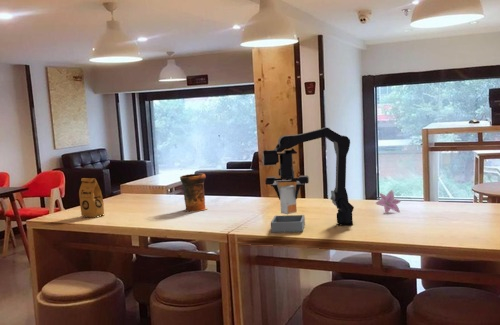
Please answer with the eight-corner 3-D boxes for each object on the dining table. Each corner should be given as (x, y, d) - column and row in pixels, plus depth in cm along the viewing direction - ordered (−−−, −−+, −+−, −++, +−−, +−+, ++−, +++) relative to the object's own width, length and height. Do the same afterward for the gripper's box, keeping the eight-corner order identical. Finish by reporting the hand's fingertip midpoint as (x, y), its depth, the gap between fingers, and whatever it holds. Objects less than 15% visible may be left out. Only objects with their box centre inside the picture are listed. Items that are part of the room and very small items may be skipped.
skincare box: (287, 214, 207) (285, 187, 205) (280, 213, 210) (278, 186, 209) (297, 212, 210) (295, 185, 209) (291, 211, 214) (289, 184, 212)
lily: (372, 215, 231) (377, 199, 226) (374, 201, 241) (379, 186, 235) (396, 222, 229) (402, 207, 223) (398, 208, 238) (404, 193, 233)
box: (304, 224, 216) (304, 214, 216) (302, 232, 203) (302, 221, 203) (275, 225, 219) (274, 215, 218) (271, 232, 206) (270, 222, 205)
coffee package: (93, 219, 261) (89, 179, 259) (79, 217, 268) (75, 179, 266) (107, 215, 269) (103, 176, 267) (93, 213, 276) (89, 176, 274)
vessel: (196, 213, 258) (192, 176, 257) (177, 211, 267) (174, 176, 266) (213, 208, 270) (210, 173, 268) (195, 207, 279) (192, 173, 277)
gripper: (308, 161, 214) (310, 195, 216) (267, 163, 218) (269, 196, 219) (307, 164, 203) (308, 200, 205) (264, 165, 207) (266, 201, 208)
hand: (288, 199), depth 210 cm, fingers closed on skincare box, 7 cm apart
